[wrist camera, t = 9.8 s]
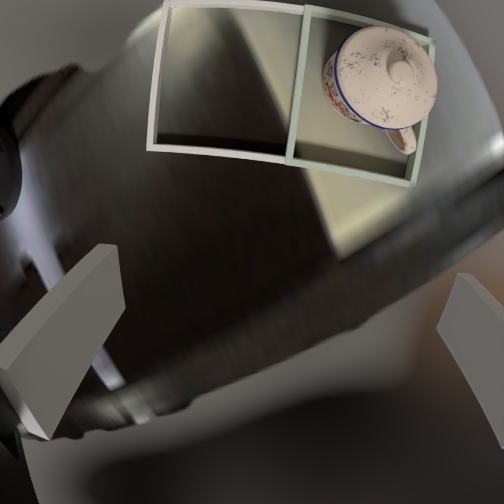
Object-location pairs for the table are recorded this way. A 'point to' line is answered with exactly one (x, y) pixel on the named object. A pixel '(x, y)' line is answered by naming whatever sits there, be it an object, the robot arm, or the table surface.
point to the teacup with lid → (382, 82)
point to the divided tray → (250, 2)
